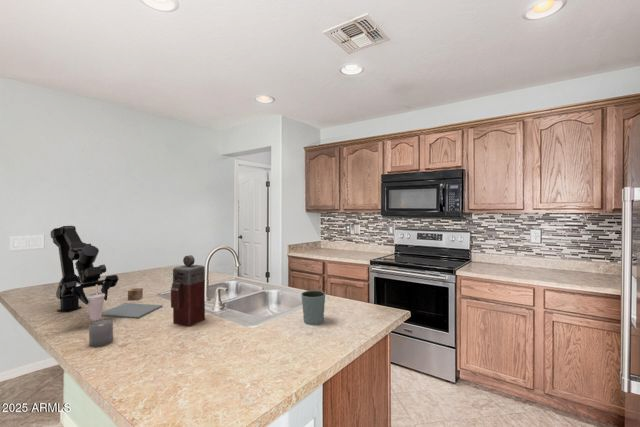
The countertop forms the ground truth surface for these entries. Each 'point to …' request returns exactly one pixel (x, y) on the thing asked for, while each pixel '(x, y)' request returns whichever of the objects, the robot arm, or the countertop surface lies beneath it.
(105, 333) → the grey rounded canister
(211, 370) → the countertop surface
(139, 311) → the slate mat
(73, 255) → the robot arm
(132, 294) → the walnut block
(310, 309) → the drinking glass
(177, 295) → the french press
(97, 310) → the smoothie
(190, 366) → the countertop surface
